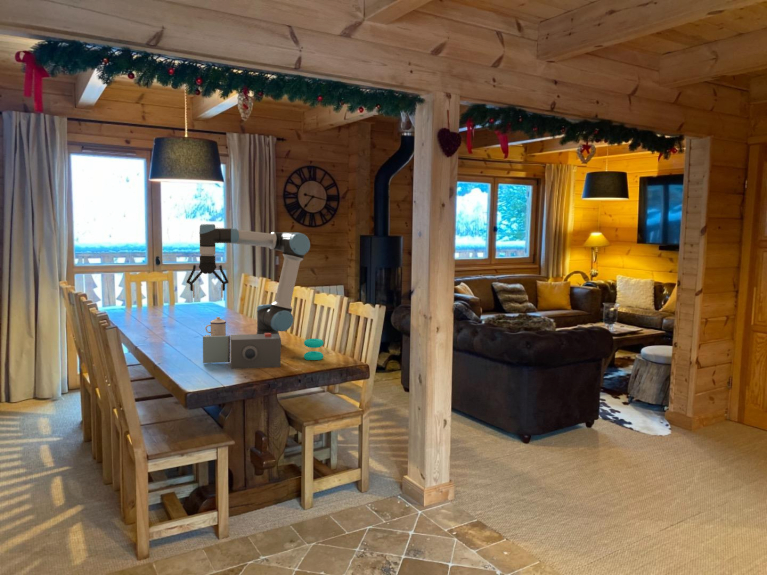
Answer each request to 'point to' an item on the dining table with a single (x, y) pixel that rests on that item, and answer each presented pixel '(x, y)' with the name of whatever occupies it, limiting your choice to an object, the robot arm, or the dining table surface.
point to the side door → (216, 349)
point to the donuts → (313, 344)
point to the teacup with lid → (217, 327)
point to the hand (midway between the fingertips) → (207, 297)
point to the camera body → (255, 351)
